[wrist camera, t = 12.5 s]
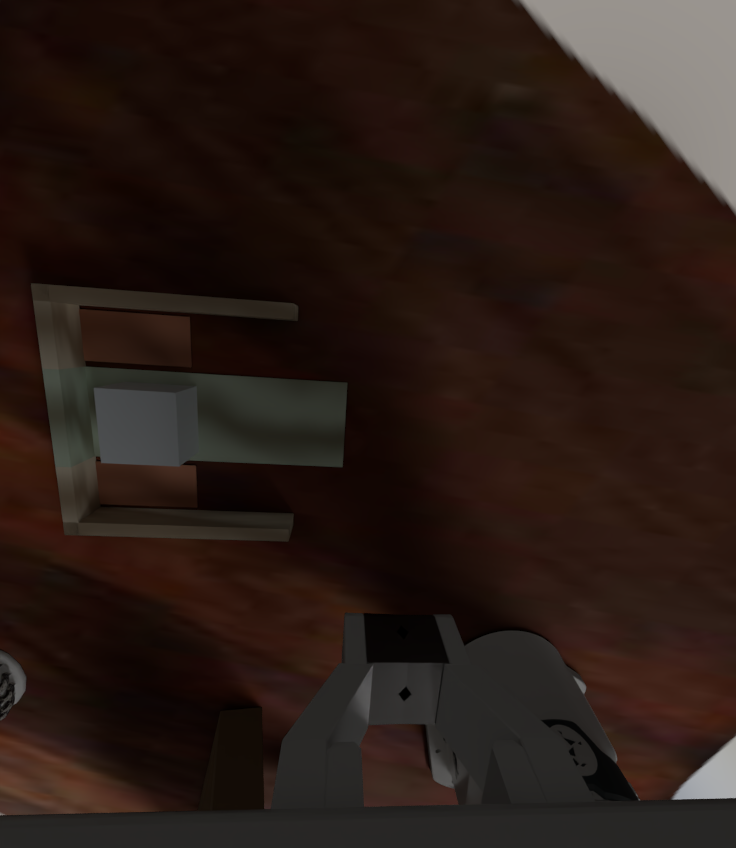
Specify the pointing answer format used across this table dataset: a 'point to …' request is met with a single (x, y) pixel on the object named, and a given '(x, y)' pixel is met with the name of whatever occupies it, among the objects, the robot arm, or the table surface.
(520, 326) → the table surface
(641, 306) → the table surface
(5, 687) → the black white tall cylinder
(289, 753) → the robot arm
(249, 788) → the photo frame
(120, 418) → the block
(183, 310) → the grey-green e-shaped frame
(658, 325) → the table surface
